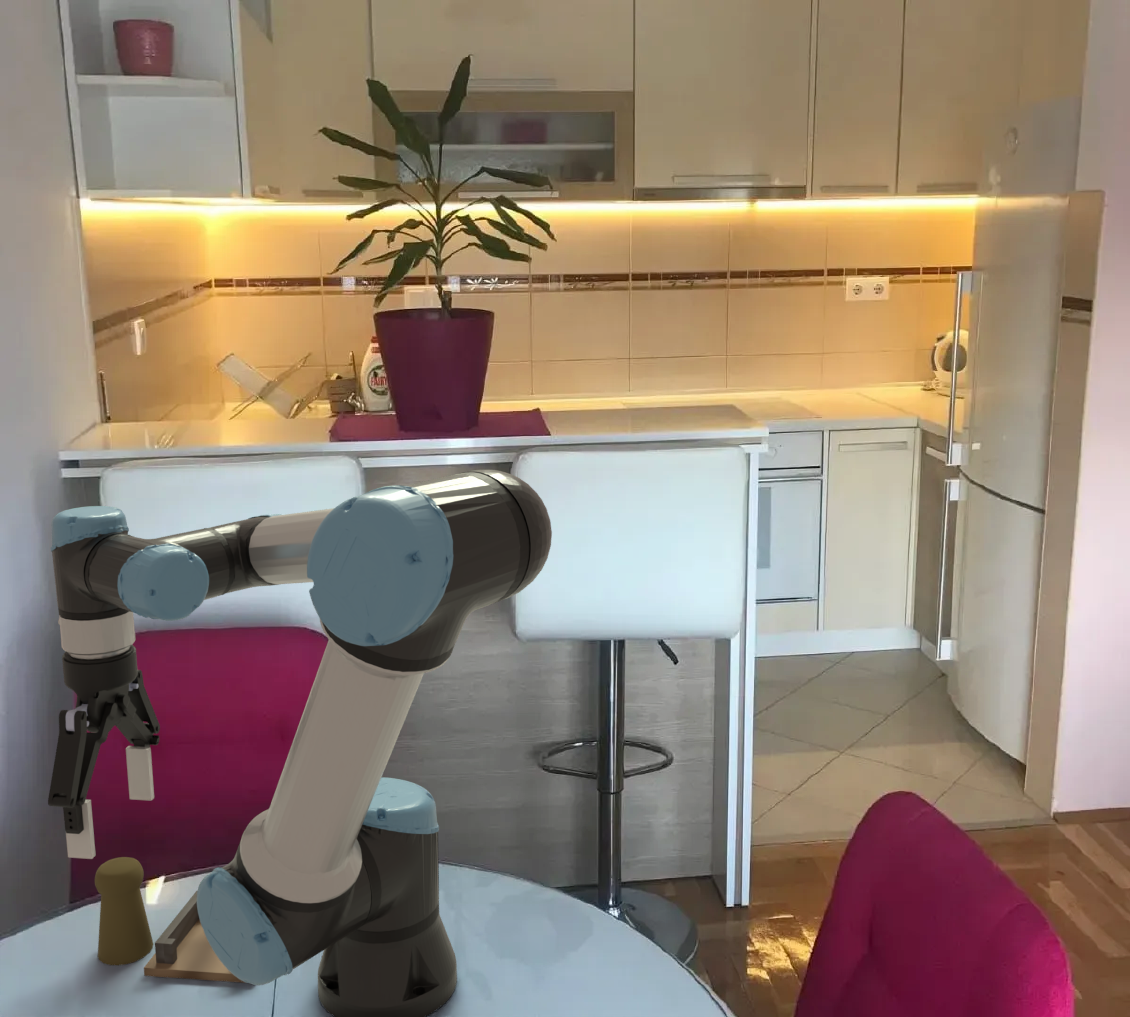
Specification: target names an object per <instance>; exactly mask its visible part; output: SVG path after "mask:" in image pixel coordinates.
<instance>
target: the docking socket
mask: <svg viewBox="0 0 1130 1017" xmlns="http://www.w3.org/2000/svg"><path fill="white" fill-rule="evenodd" d="M197 891H198V890H196V891H195V892H194V893H193V895H192V896H191V897H190V898H189V900H188V901H187V902H186V904H185V905H184V906H183V907H182V909H181V910H180V911H179V912H178V914H177V915H175V917H174V918H173V920H172V921H171V922H170V923H169V925H168V926H167V927H166V928H165V930H164V931H163V932H161V934H160V935H159V937H158V938H157V939H156V941H155V942H154V950H155V952H154V954H153V955H152V957H151V958H150V959H149V960H148V962H147V963H146V964H145V966H144V967H143V976H144V977H156V978H157V977H158V978H171V979H183V980H184V979H186V980H197V981H198V980H200V981H213V982H216V981H217V982H228V983H229V982H230V983H231V982H232V983H244V984H247V983H246V982H243V981H242V980H240V979H238V978H237V977H236V976H234V975H233V974H232V973H231V972H230V971H229V970H228V969H227V968H226V967H225V966H224V965H223V963H222V962H221V961H220V960H219V958H218V957H217V955H216V954H215V952H214V951H213V949H212V947H211V946H210V944H209V942H208V940H207V938H206V935H205V933H204V930H203V928H202V925H201V922H200V919H199V915H198V910H197Z"/></svg>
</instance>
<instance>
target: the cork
mask: <svg viewBox="0 0 1130 1017" xmlns="http://www.w3.org/2000/svg"><path fill="white" fill-rule="evenodd" d="M144 875H145V874H144V869H143V866H142V864H141V863H140V861H139V860H137V859H136V858H134V857H128V856H121V857H115V858H111V859H108V860H106V861H105V862H104V863H102V864H100V866H99V867H98V868H97V869H96V872H95V876H94V886H95V888H96V890H97V893H98V894H100V910H99V924H98V925H99V928H98V942H97V944H98V945H97V958H98V961H99V962H101V963H102V964H104V965H108V966H123V965H124V966H125V965H128V964H132V963H135V962H137V961H140V960H141V959H143V958H145V957H146V956H147V955H148V954H150V953H151V951H152V950H153V949H154V941H153V937H152V933H151V929H150V925H149V920H148V916H147V912H146V909H145V905H144V904H145V903H144V901H143V896H142V892H141V885H142V884H143V880H144Z"/></svg>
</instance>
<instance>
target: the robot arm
mask: <svg viewBox="0 0 1130 1017" xmlns="http://www.w3.org/2000/svg"><path fill="white" fill-rule="evenodd" d="M127 523H128V522H127V517H126V514H125V513H124V511H123V510H122V509H120V508H118V507H115V506H106V505H93V506H92V505H91V506H90V505H89V506H81V507H75V508H70V509H65V510H62V511H60V512H58V513H57V514H56V515H54V516H53V518H52V520H51V544H52V545H51V547H50V552H51V553H52V554H51V555H52V564H53V572H54V573H53V574H54V584H55V592H56V593H55V594H56V602H57V610H58V620H57V622H58V623H57V624H58V625H59V631H60V643H61V644H60V646H61V649H63V651H64V653H63V654H62V657H61V660H62V671H63V682H64V685H65V686H66V688H68V689H70V690H71V691H73V692H74V693H75V695H76V703H75V708H73V709H61V710H60V711H59V714H58V736H57V737H58V738H57V744H56V752H55V756H54V763H53V767H52V768H53V769H52V774H51V780H50V781H51V782H50V786H49V793H48V797H47V804H48V806H49V807H55V808H57V807H58V808H59V807H60V808H61V807H62V811H63V821H64V832H65V838H66V848H67V858H70V859H71V858H73V859H84V860H85V859H87V860H93V859H94V857H96V846H95V843H96V842H95V834H94V822H93V810H92V799H87V795H88V791H89V788H90V785H91V781H92V778H93V774H94V771H95V770H94V769H95V767H96V763H97V759H98V755H99V753H100V749H101V745H103V743H105V742H107V739H108V735H109V733H110V731H112V729H113V728H114V727H116V728H117V729H118V731H119V732H120V733H121V734H122V735H123V736H124V738H125V739H126V740H127V742H129V744H132V745H128V746H127V747H126V748H125V755H126V756H125V757H126V768H127V771H126V772H127V782H128V794H129V800H137V801H153V800H154V799H155V790H154V789H155V788H154V776H153V774H154V773H153V765H152V764H153V761H152V749H151V746H158V745H159V743H160V736H159V735H157V734H159V733H160V730H161V725H160V723H159V720H158V718H157V715H156V713H155V709H154V708H153V705H152V703H151V700H150V697H149V695H148V692H147V690H146V687H145V684H144V675H143V671H142V670H141V669H138V660H137V659H138V657H137V647H136V646H134V645H133V644H134V643H135V641H136V631H135V630H136V629H135V621H134V620H135V618H134V614H136V615H137V616H139V617H141V616H142V617H143V618H146V619H148V618H150V619H152V620H162V621H167V622H169V621H170V622H173V621H174V622H175V621H179V620H180V621H181V620H182V619H185V618H188V617H189V616H190V615H191V614H192V613H193V612H195V610H197V609H198V608H199V607H201V605H202V604H203V603H204V601H206V600H210V599H213V598H217V597H220V596H223V595H226V594H230V593H233V592H239V591H241V590H247V589H250V588H256V587H268V586H269V587H271V586H280V585H286V584H287V585H289V584H291V585H292V584H303V583H304V584H306V583H313V586H312V588H309V590H308V593H309V596H310V599H311V602H312V605H313V608H314V609H315V612H316V613H317V617H318V618H319V623H320V626H321V629H322V631H323V633H324V635H325V636H326V637H327V639H328V641H327V644H326V647H325V649H324V652H323V655H322V658H321V661H320V664H319V666H318V669H317V672H316V675H315V678H314V681H313V684H312V686H311V689H310V692H309V695H308V698H307V701H306V703H305V707H304V710H303V712H302V713H301V714H302V715H301V718H300V721H299V724H298V726H297V728H296V729H297V730H296V731H295V735H294V738H293V740H292V743H291V746H290V749H289V751H288V754H287V756H286V757H287V758H286V760H285V763H284V765H283V769H282V771H281V774H280V777H279V780H278V782H277V785H276V789H275V791H274V794H273V796H272V800H271V803H270V805H269V808H268V809H266V810H264V811H262V812H260V813H259V814H257V815H256V816H254V817H253V819H251V820H250V822H249V823H248V824H247V826H246V827H245V829H244V831H243V833H242V835H241V837H240V838H241V839H240V841H239V845H238V847H237V850H236V853H235V855H234V858H233V859H232V860H231V861H230V862H229V863H228V864H226V865H224V866H222V867H221V866H220V867H216V868H213V870H212V871H211V872H210V873H209V874H207V875H206V876H204V877H203V878H202V879H201V881H200V883H199V884H198V887H197V890H196V891H197V910H198V915H199V919H200V922H201V925H202V928H203V930H204V933H205V935H206V938H207V940H208V942H209V944H210V946H211V947H212V949H213V951H214V952H215V954H216V955H217V957H218V958H219V960H220V961H221V962H222V963H223V965H224V966H225V967H226V968H227V969H228V970H229V971H230V972H231V973H232V974H233V975H234V976H236V977H237V978H238V979H240V980H242V981H243V982H246V983H245V984H252V985H253V986H265V985H267V984H270V983H271V982H273V981H275V980H277V979H279V978H281V977H283V976H287V975H290V974H292V972H293V971H294V970H295V969H296V968H298V967H299V966H301V965H302V964H304V963H306V962H307V961H308V960H310V959H312V958H314V957H315V956H317V955H318V954H320V953H321V952H322V955H321V958H320V962H319V965H318V969H317V991H318V992H317V993H318V998H319V1001H320V1003H321V1006H323V1008H324V1009H325V1010H326V1011H327V1012H328V1013H329V1015H331V1016H333V1017H428V1016H429V1015H431V1014H433V1013H434V1012H436V1011H437V1010H439V1009H440V1008H441V1007H443V1005H445V1004H446V1003H447V1001H449V999H450V998H451V997H452V995H453V994H454V991H455V989H456V986H457V982H458V981H457V980H458V974H457V973H458V971H457V968H458V966H457V958H456V953H455V950H454V948H453V946H452V942H451V940H450V938H449V935H448V933H447V930H446V927H445V926H444V923H443V920H442V917H441V915H440V884H439V883H440V879H439V878H440V874H439V872H440V871H439V866H440V865H439V862H440V861H439V831H440V825H439V823H438V818H437V806H436V801H435V798H434V797H433V795H432V794H431V793H430V792H429V790H427V789H426V788H425V787H423V786H421V785H419V784H418V783H416V782H415V783H414V782H412V781H408V780H406V779H399V778H394V777H384V776H383V774H384V773H385V772H384V771H385V769H386V768H387V764H388V763H389V759H391V758H390V757H391V755H392V752H393V750H394V748H395V745H396V743H397V741H398V738H399V735H400V732H401V730H402V728H403V726H404V723H405V721H406V719H407V716H408V713H409V711H410V708H411V706H412V703H413V701H414V699H415V696H416V694H417V691H418V688H419V687H420V684H421V682H422V679H423V676H424V674H427V673H430V672H433V671H435V670H437V669H440V668H441V667H443V665H445V664H446V662H447V661H448V660H449V658H450V657H451V655H452V653H453V650H454V649H455V646H456V643H457V641H458V639H459V636H460V635H461V632H462V629H463V627H464V624H465V622H466V620H467V618H468V617H469V616H470V615H471V613H473V612H475V611H477V610H479V609H482V608H485V607H488V606H490V605H492V604H493V605H494V604H496V603H498V602H502V601H503V600H507V599H509V598H511V597H513V596H515V595H517V594H518V593H521V591H523V590H524V589H526V588H527V587H528V586H529V585H530V584H531V583H533V582H534V581H535V579H536V578H537V576H538V575H539V574H540V573H541V571H542V570H543V568H544V566H545V564H546V562H547V560H548V559H549V558H548V557H549V554H550V549H551V546H552V535H553V531H552V521H551V518H550V515H549V512H548V509H547V506H546V505H545V503H544V500H543V499H542V498H541V497H540V495H539V493H537V491H536V490H534V488H533V487H532V486H531V485H530V484H529V483H527V482H526V481H524V480H523V479H522V478H520V477H518V476H516V475H514V474H511V473H508V472H505V471H503V470H502V471H501V470H497V469H475V470H469V471H468V470H467V471H464V472H459V473H457V474H456V473H455V474H451V475H446V476H442V477H438V478H433V479H430V480H426V481H424V480H423V481H421V482H420V481H419V482H417V483H413V484H407V485H402V484H401V485H400V484H399V485H398V484H397V485H395V484H393V485H386V486H381V487H377V488H374V489H371V490H370V491H367V492H365V493H363V494H361V495H360V494H359V495H357V496H354V497H351V498H349V499H347V500H344V501H343V502H342V503H339V504H338V505H337V506H335V507H333V508H328V509H327V508H326V509H318V510H311V511H310V510H309V511H302V512H297V513H295V512H294V513H287V514H286V513H285V514H282V513H281V514H280V513H279V514H278V513H275V514H261V515H256V516H252V517H249V518H247V519H242V520H238V521H233V522H228V523H224V524H220V525H219V524H218V525H215V526H211V527H210V526H209V527H204V528H201V529H196V530H195V529H194V530H191V531H186V532H180V533H175V534H169V535H165V536H161V537H156V538H141V537H137V536H136V537H135V535H130V534H129V531H130V530H129V526H128V524H127Z"/></svg>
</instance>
